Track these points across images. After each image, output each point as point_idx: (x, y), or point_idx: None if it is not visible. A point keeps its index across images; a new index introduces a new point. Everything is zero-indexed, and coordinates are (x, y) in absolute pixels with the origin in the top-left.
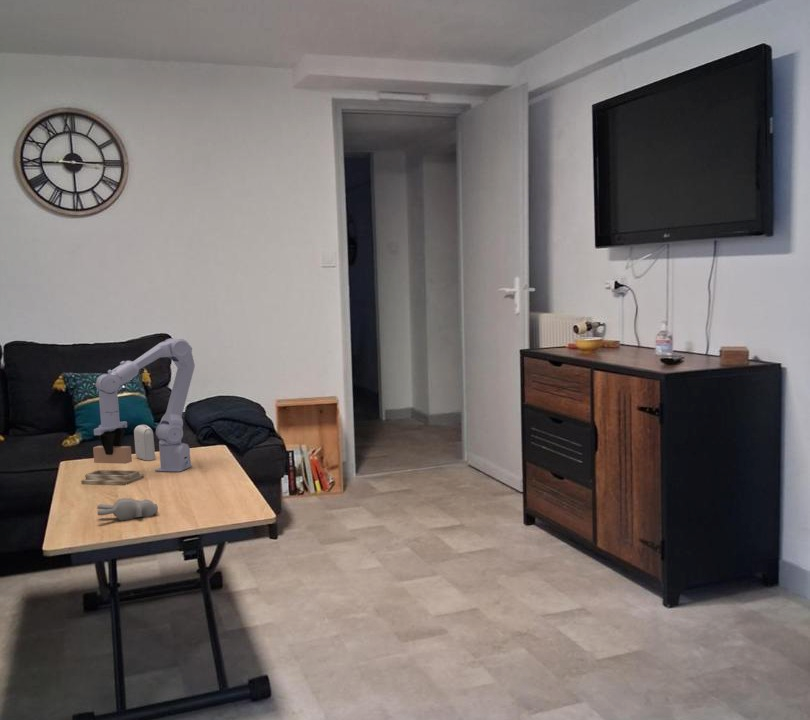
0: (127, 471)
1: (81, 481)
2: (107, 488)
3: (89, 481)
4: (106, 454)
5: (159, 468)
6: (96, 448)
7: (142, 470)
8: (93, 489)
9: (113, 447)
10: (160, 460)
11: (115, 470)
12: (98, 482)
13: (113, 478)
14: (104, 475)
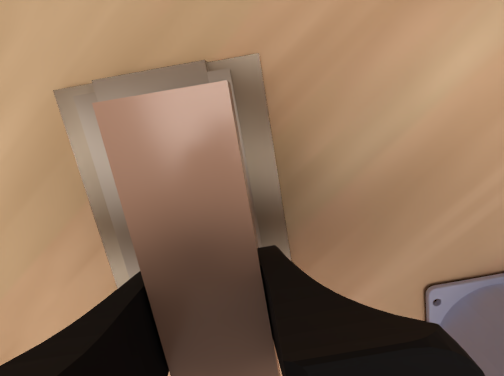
0: None
1: (55, 92)
2: (60, 315)
3: (73, 151)
4: None
5: (462, 290)
6: (113, 156)
7: (444, 195)
8: (11, 264)
9: (193, 359)
10: (484, 339)
11: (251, 201)
12: (96, 209)
13: None
14: (118, 241)
